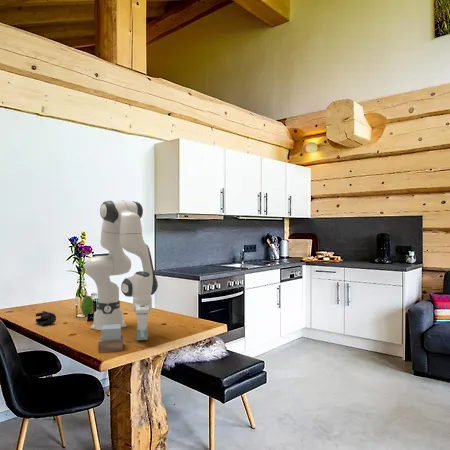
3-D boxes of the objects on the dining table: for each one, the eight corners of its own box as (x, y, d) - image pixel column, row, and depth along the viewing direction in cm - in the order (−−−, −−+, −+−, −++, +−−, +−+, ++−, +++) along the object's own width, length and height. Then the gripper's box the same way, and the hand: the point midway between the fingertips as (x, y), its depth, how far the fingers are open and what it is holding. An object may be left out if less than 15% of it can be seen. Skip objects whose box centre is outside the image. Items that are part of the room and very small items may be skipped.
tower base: (100, 346, 181) (100, 335, 181) (122, 345, 183) (122, 334, 183) (98, 353, 171) (98, 341, 171) (121, 351, 173) (122, 340, 174)
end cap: (56, 324, 221) (56, 312, 221) (43, 327, 215) (43, 314, 215) (47, 321, 227) (47, 310, 227) (35, 324, 221) (35, 312, 222)
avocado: (78, 316, 242) (78, 296, 242) (85, 313, 249) (85, 294, 249) (90, 316, 240) (90, 296, 240) (96, 313, 248) (96, 294, 248)
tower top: (102, 335, 181) (102, 324, 181) (121, 334, 182) (121, 323, 182) (101, 340, 173) (101, 329, 173) (120, 339, 175) (120, 328, 175)
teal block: (136, 336, 190) (136, 326, 190) (147, 336, 191) (147, 326, 191) (136, 340, 186) (136, 329, 186) (147, 339, 187) (147, 328, 187)
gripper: (135, 301, 198) (135, 329, 198) (135, 310, 178) (135, 341, 178) (148, 301, 199) (148, 328, 199) (149, 310, 179) (149, 340, 179)
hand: (142, 334), depth 188 cm, fingers closed on teal block, 5 cm apart
